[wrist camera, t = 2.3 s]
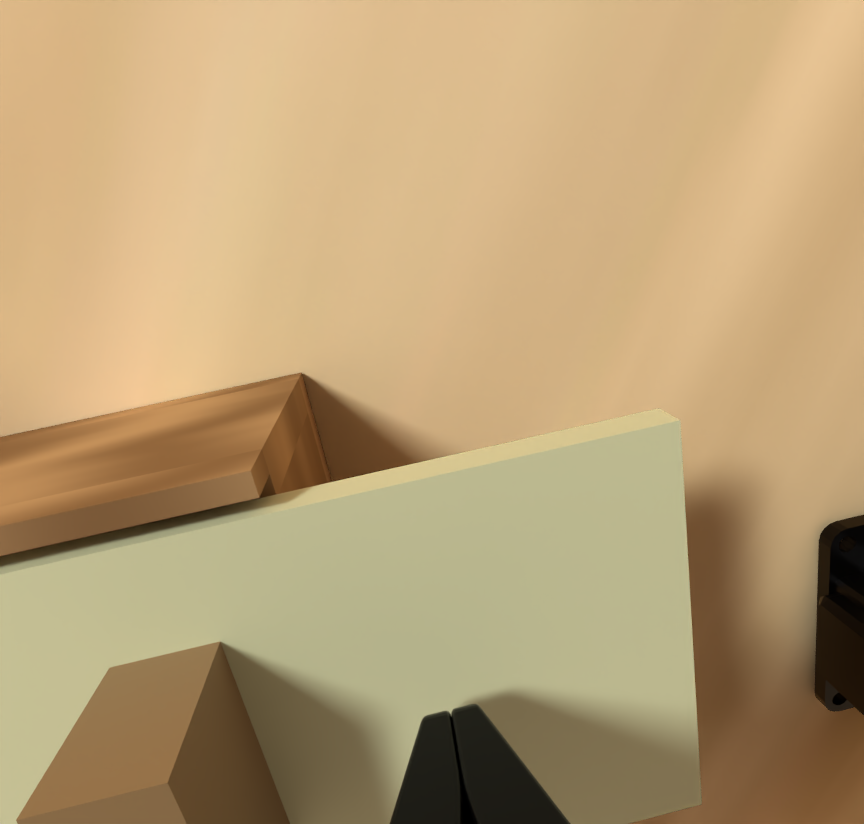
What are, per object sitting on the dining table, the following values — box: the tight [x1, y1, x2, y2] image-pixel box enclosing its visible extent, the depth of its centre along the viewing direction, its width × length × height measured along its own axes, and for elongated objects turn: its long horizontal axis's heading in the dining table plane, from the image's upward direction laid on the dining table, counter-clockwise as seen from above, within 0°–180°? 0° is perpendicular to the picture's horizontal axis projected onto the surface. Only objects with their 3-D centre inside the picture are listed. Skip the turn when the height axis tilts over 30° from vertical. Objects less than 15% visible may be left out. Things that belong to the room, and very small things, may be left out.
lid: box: [0, 408, 702, 824], centre depth 8 cm, size 15×8×3 cm, turn 102°
